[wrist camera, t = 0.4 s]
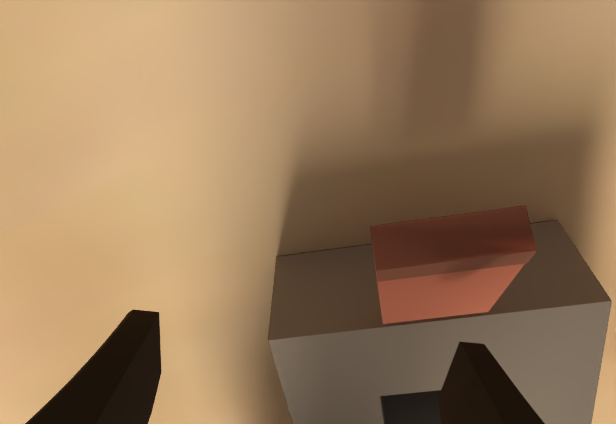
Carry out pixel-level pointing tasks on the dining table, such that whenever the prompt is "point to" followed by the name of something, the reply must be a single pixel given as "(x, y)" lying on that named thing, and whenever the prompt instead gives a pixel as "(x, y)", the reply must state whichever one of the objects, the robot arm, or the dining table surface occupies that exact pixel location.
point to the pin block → (434, 338)
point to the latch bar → (449, 262)
